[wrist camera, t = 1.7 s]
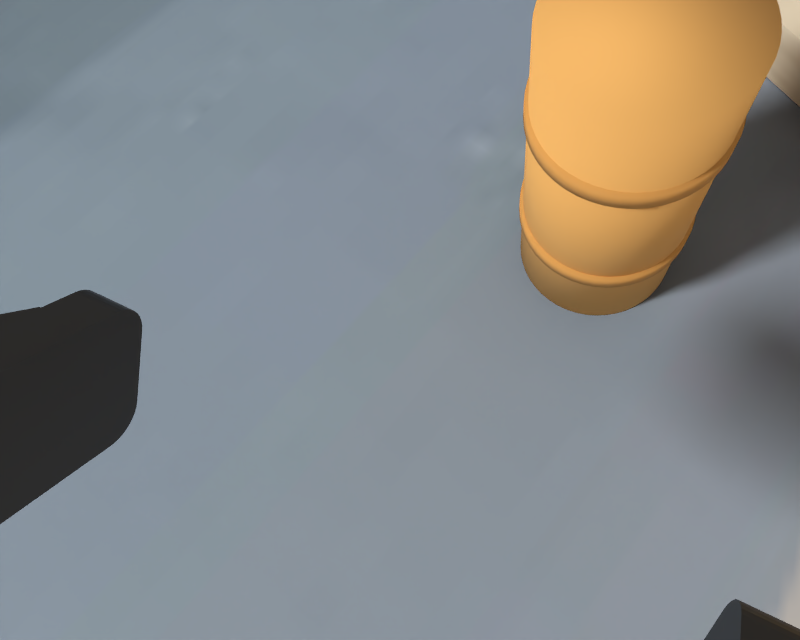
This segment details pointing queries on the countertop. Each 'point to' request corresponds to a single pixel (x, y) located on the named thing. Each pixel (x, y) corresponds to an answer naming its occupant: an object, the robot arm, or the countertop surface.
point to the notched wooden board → (788, 52)
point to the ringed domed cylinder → (630, 135)
